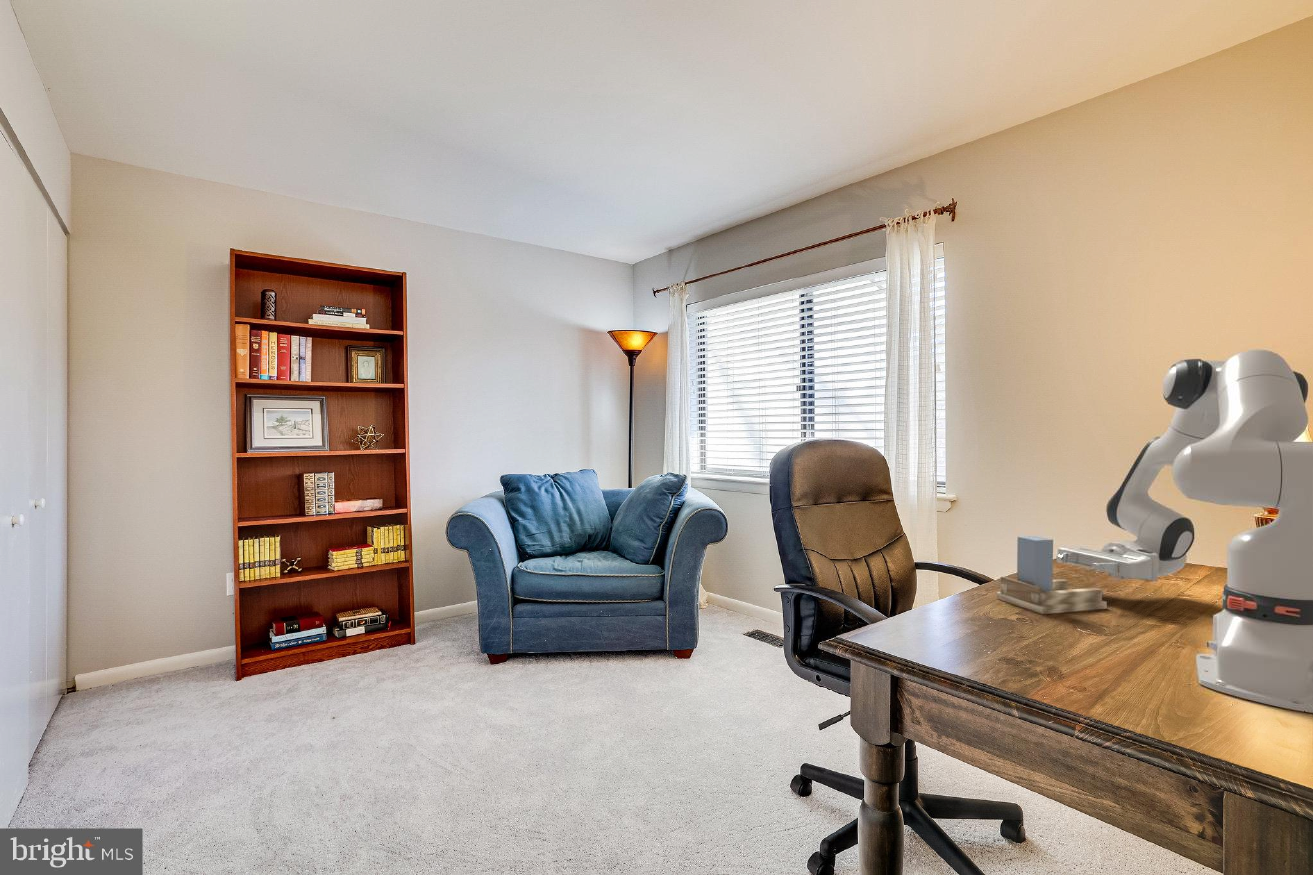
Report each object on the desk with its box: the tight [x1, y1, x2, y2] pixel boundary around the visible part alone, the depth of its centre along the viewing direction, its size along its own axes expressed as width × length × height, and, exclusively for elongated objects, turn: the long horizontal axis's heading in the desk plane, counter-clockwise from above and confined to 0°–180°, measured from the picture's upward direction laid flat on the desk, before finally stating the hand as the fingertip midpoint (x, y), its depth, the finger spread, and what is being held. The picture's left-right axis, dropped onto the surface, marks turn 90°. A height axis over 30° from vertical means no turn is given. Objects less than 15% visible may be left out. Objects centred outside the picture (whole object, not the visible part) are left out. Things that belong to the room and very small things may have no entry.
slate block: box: [1016, 535, 1054, 592], centre depth 144 cm, size 5×5×14 cm
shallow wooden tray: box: [995, 576, 1108, 615], centre depth 145 cm, size 18×13×6 cm
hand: (1076, 563), depth 147 cm, fingers open, 8 cm apart
